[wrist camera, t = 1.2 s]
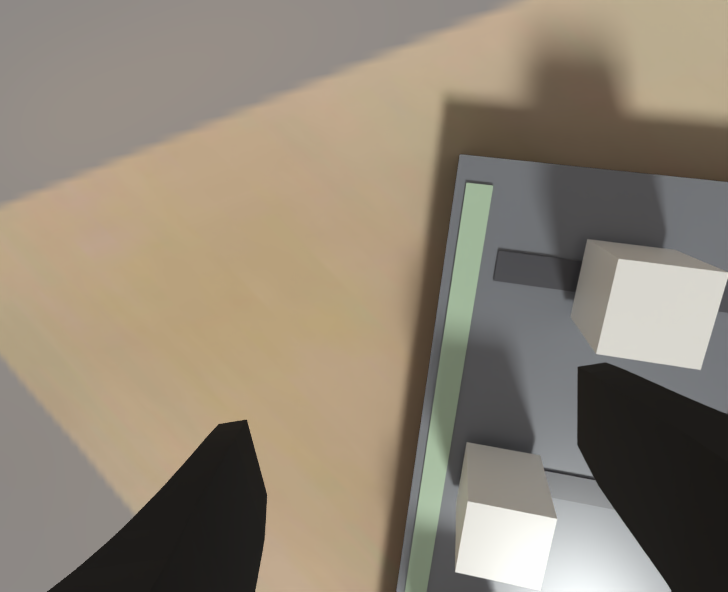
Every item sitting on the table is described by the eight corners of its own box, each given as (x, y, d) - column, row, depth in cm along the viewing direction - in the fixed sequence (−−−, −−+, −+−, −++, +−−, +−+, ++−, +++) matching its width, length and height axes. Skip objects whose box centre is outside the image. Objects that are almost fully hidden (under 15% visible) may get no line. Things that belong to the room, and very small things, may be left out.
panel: (807, 190, 20) (847, 194, 18) (640, 709, 27) (655, 753, 25) (459, 154, 22) (459, 154, 20) (388, 647, 29) (382, 684, 27)
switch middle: (540, 455, 22) (557, 519, 18) (526, 517, 22) (540, 590, 19) (466, 442, 22) (467, 501, 18) (456, 503, 23) (455, 572, 19)
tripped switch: (674, 249, 19) (729, 272, 15) (653, 328, 20) (700, 369, 16) (587, 238, 19) (618, 258, 15) (570, 317, 20) (596, 353, 16)
